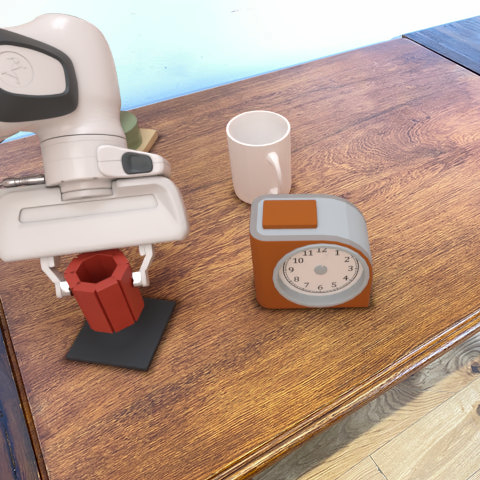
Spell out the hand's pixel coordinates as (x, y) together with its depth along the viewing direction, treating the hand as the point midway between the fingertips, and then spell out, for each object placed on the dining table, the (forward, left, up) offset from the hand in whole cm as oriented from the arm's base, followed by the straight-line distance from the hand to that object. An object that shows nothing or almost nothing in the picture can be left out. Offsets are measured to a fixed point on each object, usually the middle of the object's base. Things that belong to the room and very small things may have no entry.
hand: (105, 291), depth 57 cm
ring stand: (-16, +37, -9) cm, 41 cm away
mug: (+12, +30, -9) cm, 33 cm away
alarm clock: (+22, +12, -9) cm, 26 cm away
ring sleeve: (0, +1, -4) cm, 4 cm away
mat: (0, +1, -9) cm, 9 cm away
